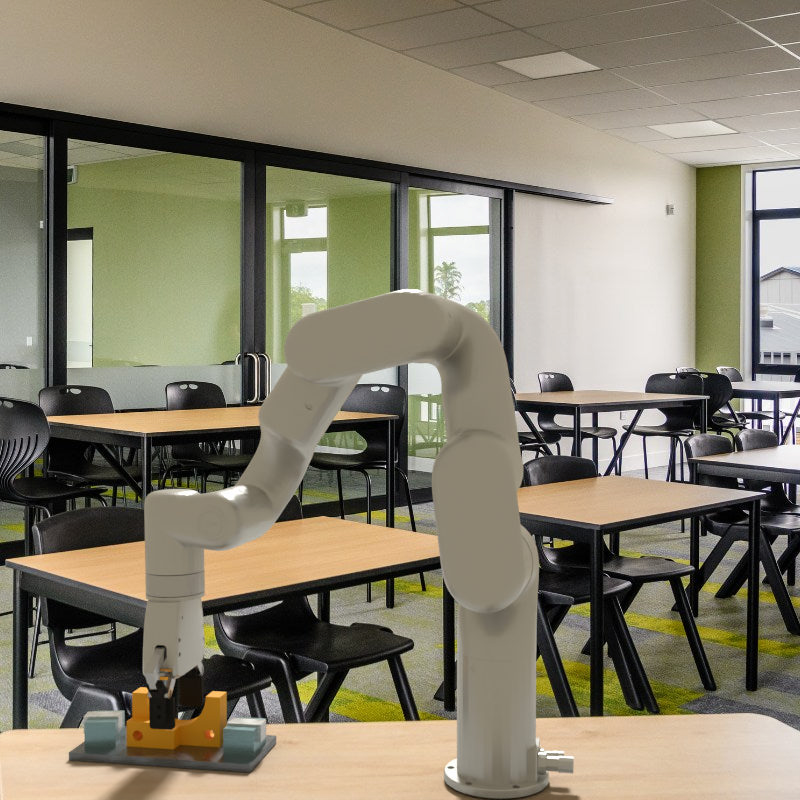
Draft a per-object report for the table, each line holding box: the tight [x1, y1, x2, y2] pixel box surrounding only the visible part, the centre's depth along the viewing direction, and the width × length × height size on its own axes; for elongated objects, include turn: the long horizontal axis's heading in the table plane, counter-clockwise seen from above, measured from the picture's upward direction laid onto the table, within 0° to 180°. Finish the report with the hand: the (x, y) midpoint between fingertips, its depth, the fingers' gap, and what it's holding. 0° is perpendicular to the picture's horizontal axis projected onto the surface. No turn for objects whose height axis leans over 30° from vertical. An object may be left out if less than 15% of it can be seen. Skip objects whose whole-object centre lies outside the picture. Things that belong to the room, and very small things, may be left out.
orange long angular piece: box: [126, 686, 228, 749], centre depth 140 cm, size 12×4×6 cm, turn 80°
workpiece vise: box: [68, 709, 277, 774], centre depth 140 cm, size 24×11×4 cm, turn 80°
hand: (177, 716), depth 140 cm, fingers open, 9 cm apart
